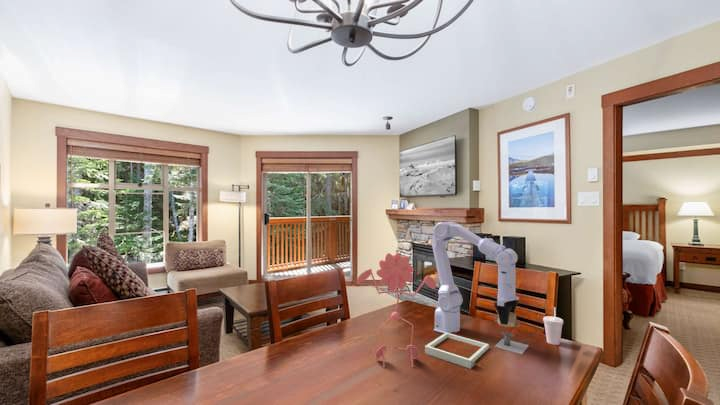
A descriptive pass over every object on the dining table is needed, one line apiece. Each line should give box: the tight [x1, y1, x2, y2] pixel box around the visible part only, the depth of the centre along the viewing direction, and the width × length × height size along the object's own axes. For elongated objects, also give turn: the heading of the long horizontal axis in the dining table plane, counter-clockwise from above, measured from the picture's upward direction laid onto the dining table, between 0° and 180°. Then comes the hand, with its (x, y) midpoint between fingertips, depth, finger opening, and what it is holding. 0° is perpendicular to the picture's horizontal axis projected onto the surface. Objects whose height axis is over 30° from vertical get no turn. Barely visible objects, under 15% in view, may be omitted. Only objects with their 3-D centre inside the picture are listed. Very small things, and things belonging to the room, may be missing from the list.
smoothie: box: [542, 306, 564, 346], centre depth 119 cm, size 6×6×14 cm
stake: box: [494, 330, 529, 355], centre depth 116 cm, size 9×9×5 cm
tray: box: [424, 333, 490, 369], centre depth 113 cm, size 16×16×2 cm
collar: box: [493, 312, 521, 328], centre depth 117 cm, size 8×6×4 cm
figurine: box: [356, 252, 438, 368], centre depth 110 cm, size 15×26×35 cm, turn 92°
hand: (506, 321), depth 117 cm, fingers closed on collar, 6 cm apart
